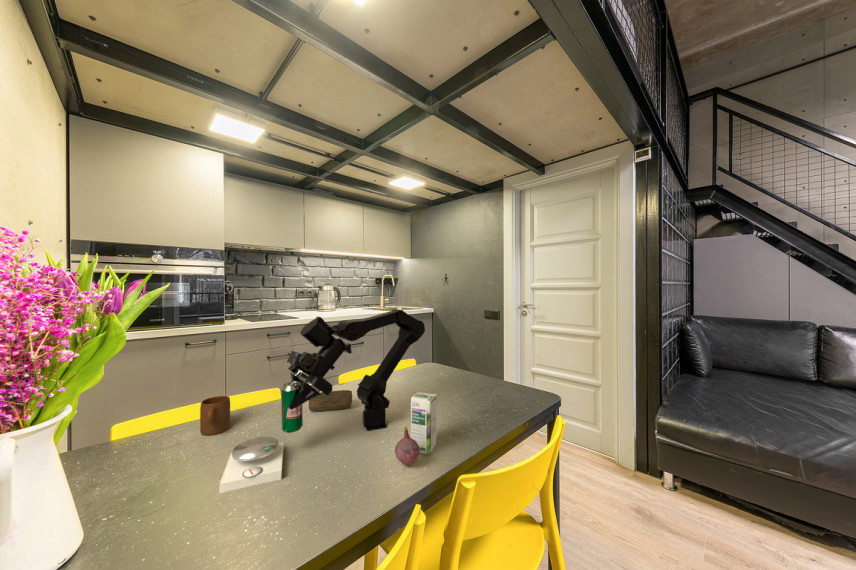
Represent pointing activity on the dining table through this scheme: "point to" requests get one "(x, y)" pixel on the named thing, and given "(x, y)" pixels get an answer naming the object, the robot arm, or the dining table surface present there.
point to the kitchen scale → (252, 471)
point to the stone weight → (331, 401)
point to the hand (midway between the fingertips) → (286, 405)
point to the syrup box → (424, 421)
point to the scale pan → (255, 449)
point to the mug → (214, 415)
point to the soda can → (294, 417)
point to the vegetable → (407, 449)
